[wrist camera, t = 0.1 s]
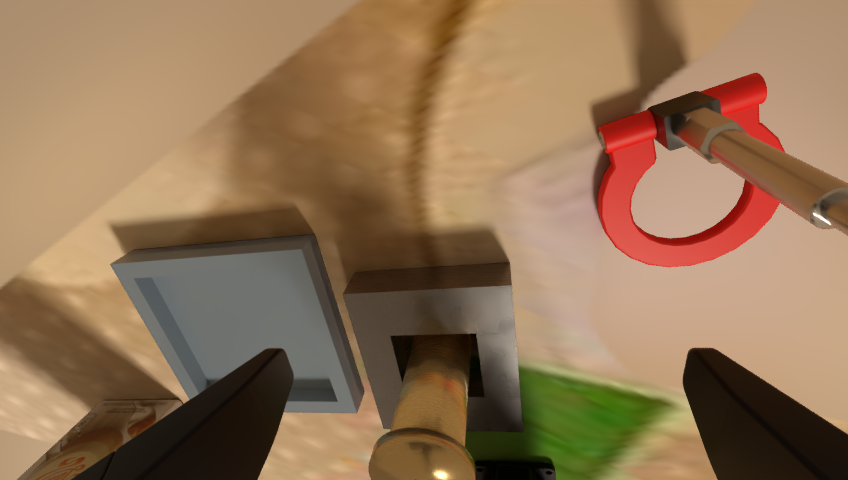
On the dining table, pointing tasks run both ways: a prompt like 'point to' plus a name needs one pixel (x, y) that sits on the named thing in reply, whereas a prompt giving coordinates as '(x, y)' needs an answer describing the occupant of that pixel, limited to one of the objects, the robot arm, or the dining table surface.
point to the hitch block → (440, 314)
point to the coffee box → (98, 437)
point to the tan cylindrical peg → (429, 415)
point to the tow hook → (717, 143)
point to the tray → (246, 315)
